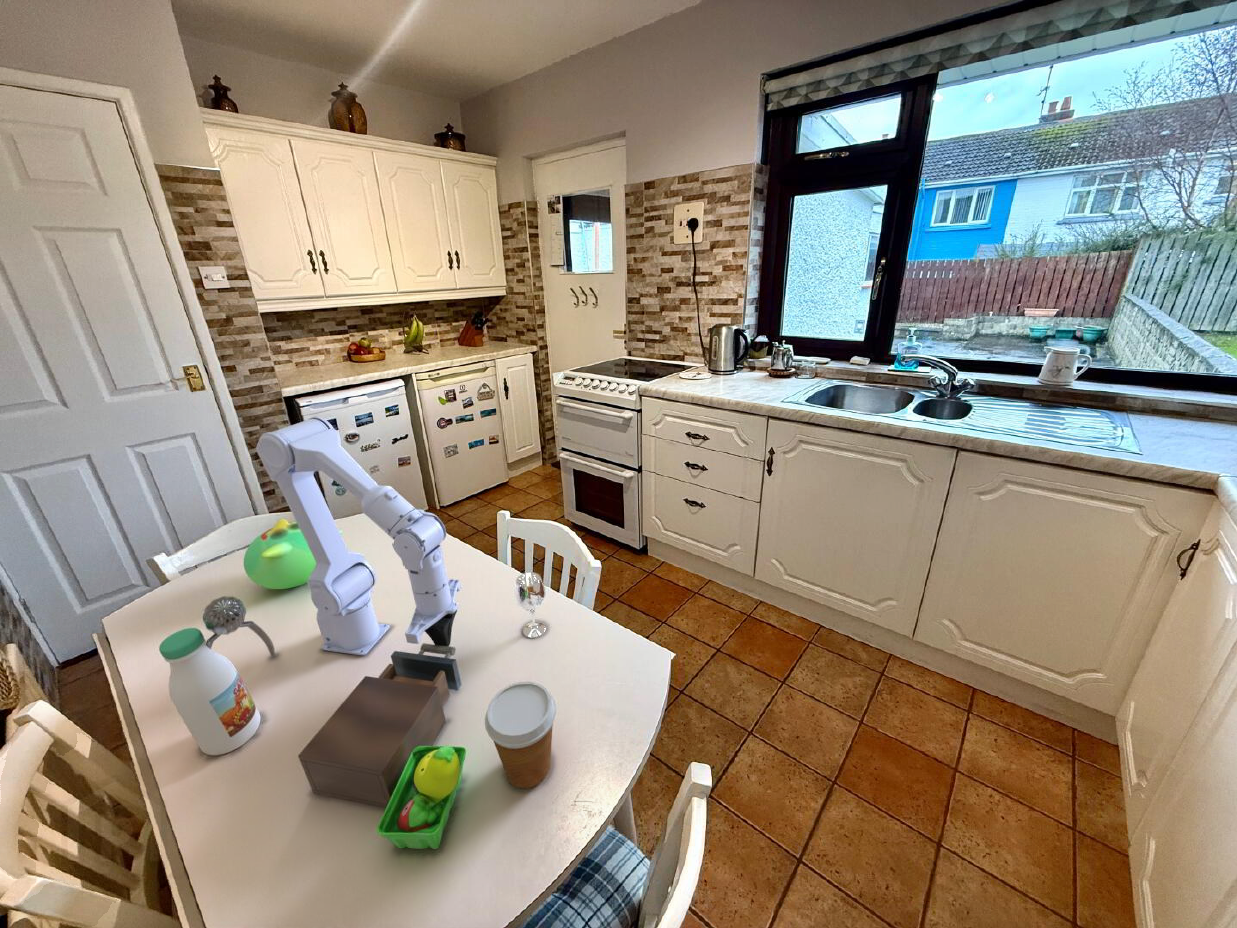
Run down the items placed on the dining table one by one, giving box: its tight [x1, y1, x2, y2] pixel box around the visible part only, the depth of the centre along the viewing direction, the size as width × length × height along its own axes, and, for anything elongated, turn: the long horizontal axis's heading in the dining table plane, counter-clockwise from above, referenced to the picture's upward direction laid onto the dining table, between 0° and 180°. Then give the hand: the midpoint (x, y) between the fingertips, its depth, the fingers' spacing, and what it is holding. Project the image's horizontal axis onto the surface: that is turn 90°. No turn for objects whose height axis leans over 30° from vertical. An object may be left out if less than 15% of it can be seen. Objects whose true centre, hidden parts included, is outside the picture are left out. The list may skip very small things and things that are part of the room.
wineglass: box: [514, 571, 547, 639], centre depth 94 cm, size 6×6×12 cm
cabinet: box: [297, 675, 447, 809], centre depth 71 cm, size 14×13×8 cm
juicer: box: [202, 595, 276, 657], centre depth 78 cm, size 10×11×30 cm
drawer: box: [377, 642, 462, 708], centre depth 79 cm, size 17×11×6 cm
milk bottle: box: [158, 627, 261, 756], centre depth 72 cm, size 8×8×20 cm
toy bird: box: [243, 518, 343, 590], centre depth 110 cm, size 18×17×15 cm
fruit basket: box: [376, 745, 467, 850], centre depth 62 cm, size 11×9×11 cm
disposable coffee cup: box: [484, 680, 557, 789], centre depth 68 cm, size 10×10×12 cm
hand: (443, 645), depth 87 cm, fingers closed
